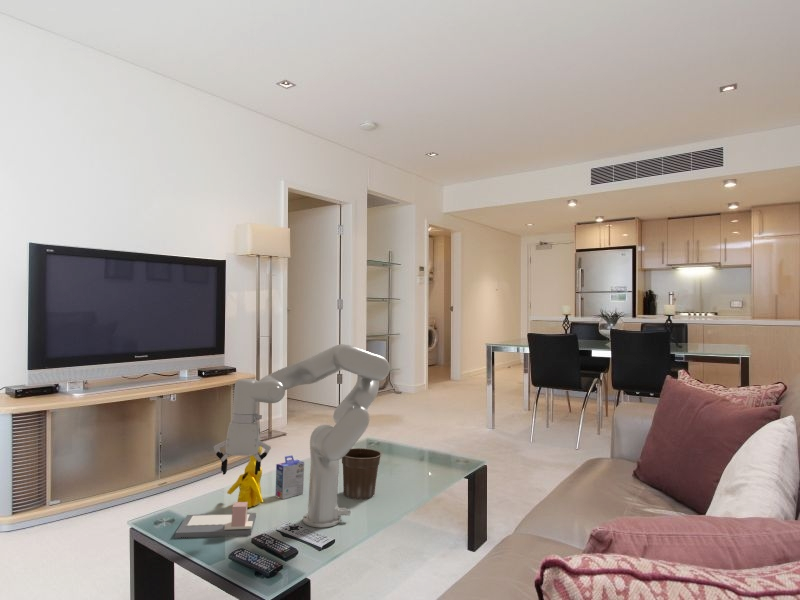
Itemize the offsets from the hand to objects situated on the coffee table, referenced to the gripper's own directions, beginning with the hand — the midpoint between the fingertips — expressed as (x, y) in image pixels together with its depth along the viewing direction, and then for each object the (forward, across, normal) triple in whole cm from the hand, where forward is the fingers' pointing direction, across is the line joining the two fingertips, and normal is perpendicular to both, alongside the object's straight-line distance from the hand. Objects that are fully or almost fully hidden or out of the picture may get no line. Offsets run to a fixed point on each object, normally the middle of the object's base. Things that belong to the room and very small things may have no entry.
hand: (240, 473), depth 154 cm
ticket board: (+18, +6, -5) cm, 20 cm away
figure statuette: (+18, -1, -24) cm, 30 cm away
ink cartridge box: (+18, -15, -34) cm, 41 cm away
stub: (+16, -1, 0) cm, 16 cm away
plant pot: (+18, -42, -33) cm, 56 cm away
